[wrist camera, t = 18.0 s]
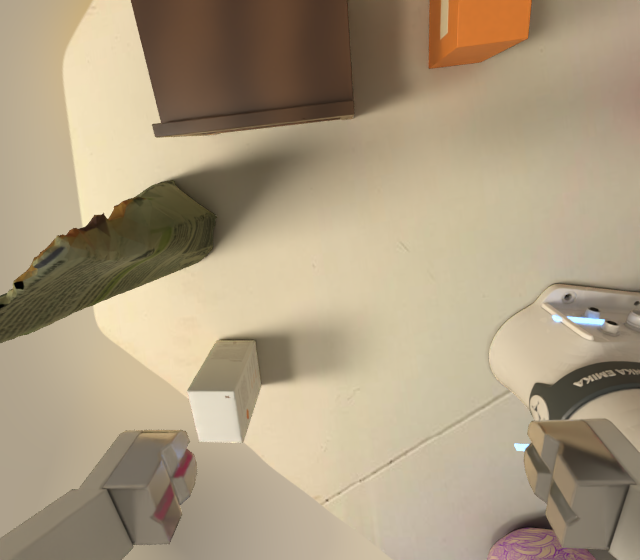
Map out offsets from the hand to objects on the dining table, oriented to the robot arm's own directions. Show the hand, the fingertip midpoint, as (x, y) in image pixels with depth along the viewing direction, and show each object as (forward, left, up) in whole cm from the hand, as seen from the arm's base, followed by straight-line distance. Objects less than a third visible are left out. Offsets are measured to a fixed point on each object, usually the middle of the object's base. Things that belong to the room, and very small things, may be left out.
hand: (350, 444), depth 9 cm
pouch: (+21, +1, -35) cm, 41 cm away
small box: (+17, +22, -35) cm, 45 cm away
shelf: (+7, -14, -35) cm, 38 cm away
